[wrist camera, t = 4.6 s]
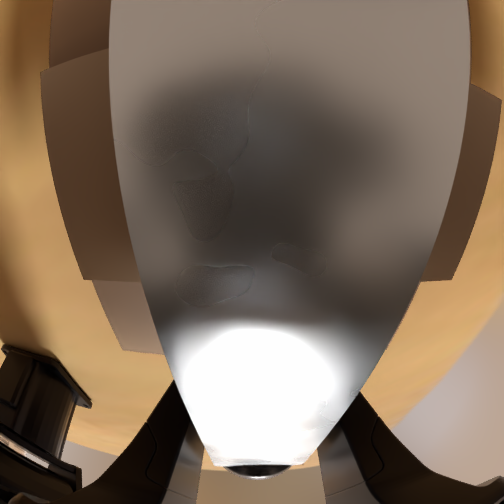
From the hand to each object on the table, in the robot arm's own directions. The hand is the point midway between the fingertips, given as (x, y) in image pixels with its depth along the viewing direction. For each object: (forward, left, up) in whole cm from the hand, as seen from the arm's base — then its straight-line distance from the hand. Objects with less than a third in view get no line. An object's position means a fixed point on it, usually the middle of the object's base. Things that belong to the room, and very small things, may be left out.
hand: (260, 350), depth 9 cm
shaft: (+5, 0, 0) cm, 5 cm away
